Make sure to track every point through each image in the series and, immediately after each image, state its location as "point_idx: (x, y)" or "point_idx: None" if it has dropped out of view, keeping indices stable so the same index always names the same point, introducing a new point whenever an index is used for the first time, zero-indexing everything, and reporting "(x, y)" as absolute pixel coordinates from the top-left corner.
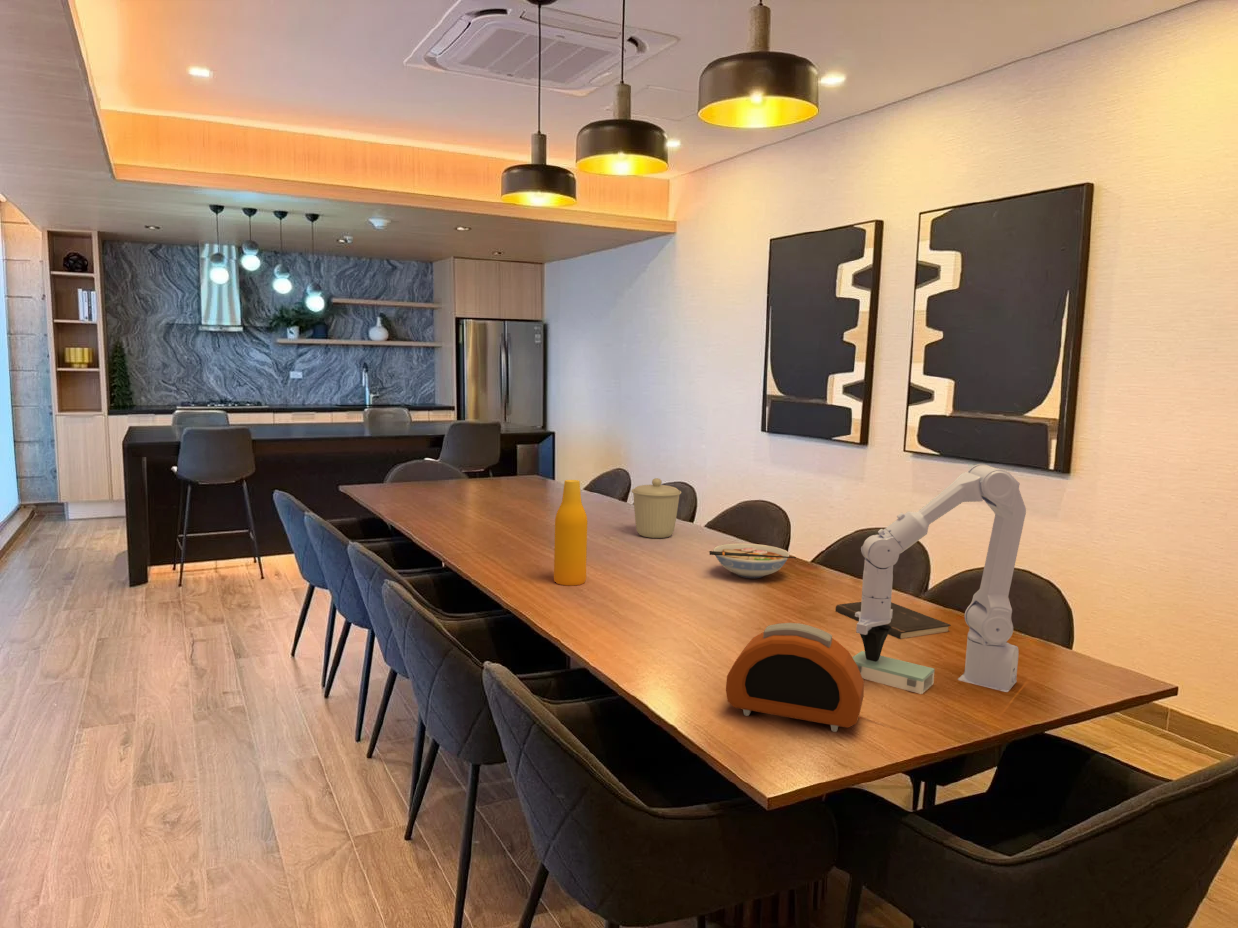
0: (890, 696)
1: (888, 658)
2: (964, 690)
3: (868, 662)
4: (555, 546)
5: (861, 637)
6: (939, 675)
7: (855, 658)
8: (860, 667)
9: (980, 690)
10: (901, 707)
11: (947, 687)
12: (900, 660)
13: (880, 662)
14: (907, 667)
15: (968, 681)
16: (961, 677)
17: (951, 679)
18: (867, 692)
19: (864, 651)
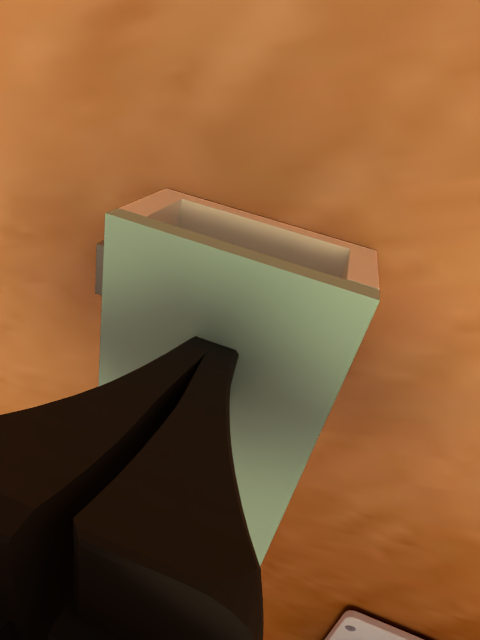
0: (66, 384)
1: (284, 460)
2: (275, 598)
3: (143, 347)
4: None
5: (37, 406)
6: (409, 575)
7: (168, 261)
8: (99, 292)
9: (300, 633)
10: (4, 409)
11: (276, 564)
12: (280, 511)
13: None
14: None
15: (343, 636)
16: (379, 632)
17: (376, 596)
18: (41, 302)
19: (368, 322)
